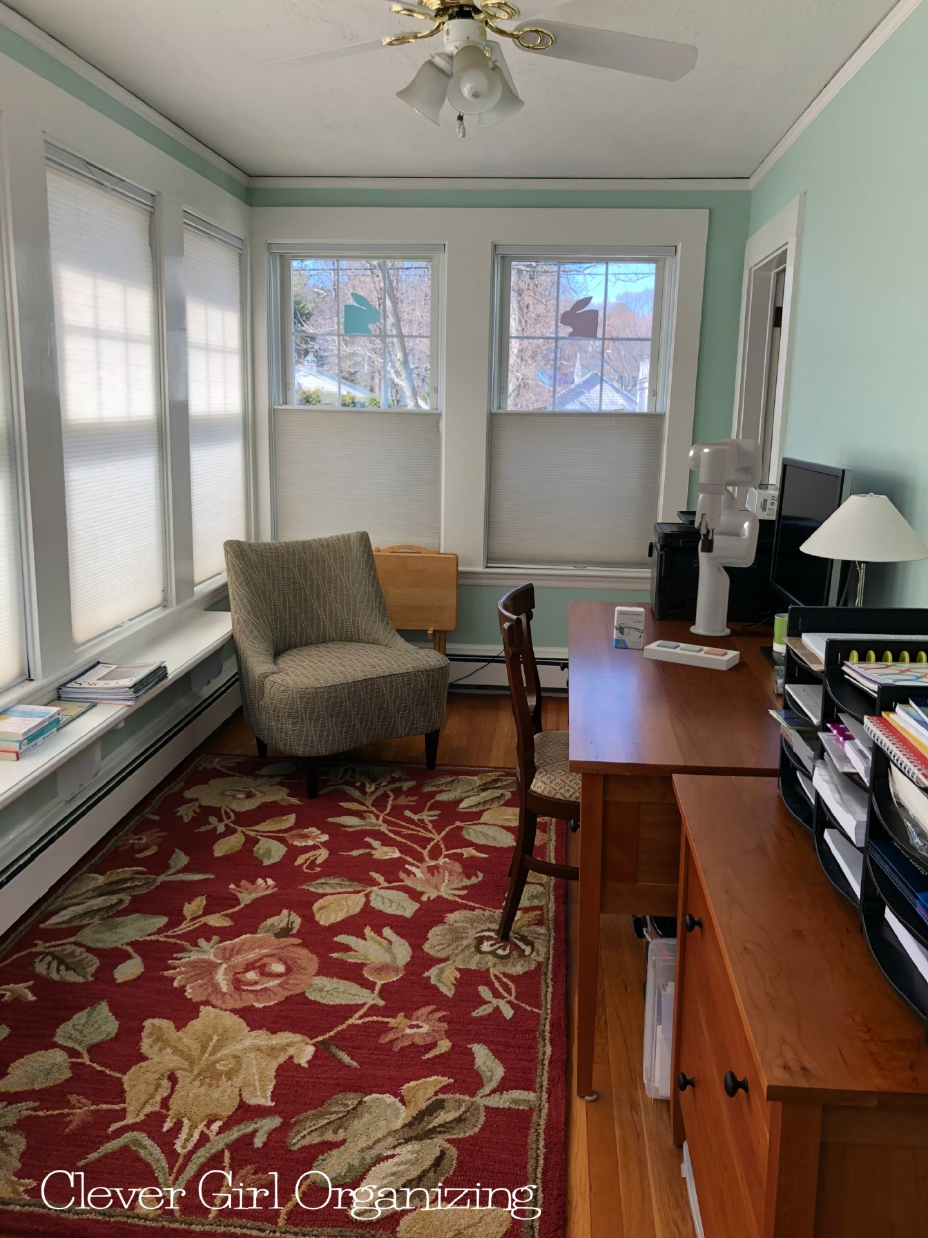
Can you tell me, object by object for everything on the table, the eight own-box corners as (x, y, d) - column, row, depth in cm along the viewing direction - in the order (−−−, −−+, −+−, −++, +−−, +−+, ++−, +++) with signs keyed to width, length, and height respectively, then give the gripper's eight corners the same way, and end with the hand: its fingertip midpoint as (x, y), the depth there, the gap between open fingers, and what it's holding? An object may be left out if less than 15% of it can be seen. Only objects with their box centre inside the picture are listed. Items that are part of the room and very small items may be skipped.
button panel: (658, 649, 288) (659, 640, 287) (738, 662, 275) (739, 651, 275) (643, 657, 278) (643, 647, 277) (725, 670, 265) (726, 659, 265)
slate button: (662, 650, 284) (663, 641, 283) (679, 652, 281) (679, 643, 280) (656, 653, 279) (656, 644, 279) (672, 655, 277) (673, 646, 276)
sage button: (685, 653, 280) (686, 644, 279) (702, 656, 277) (703, 647, 277) (679, 656, 276) (680, 647, 275) (696, 659, 273) (697, 650, 273)
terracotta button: (709, 657, 276) (710, 648, 276) (726, 660, 274) (727, 650, 273) (703, 660, 272) (704, 651, 272) (720, 663, 270) (721, 653, 269)
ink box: (613, 648, 289) (616, 609, 287) (612, 644, 294) (615, 606, 292) (643, 649, 288) (645, 610, 286) (641, 645, 293) (644, 607, 291)
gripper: (707, 488, 290) (702, 548, 294) (690, 490, 278) (685, 553, 282) (732, 489, 286) (727, 551, 290) (715, 491, 274) (710, 556, 278)
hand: (706, 552), depth 286 cm, fingers closed
